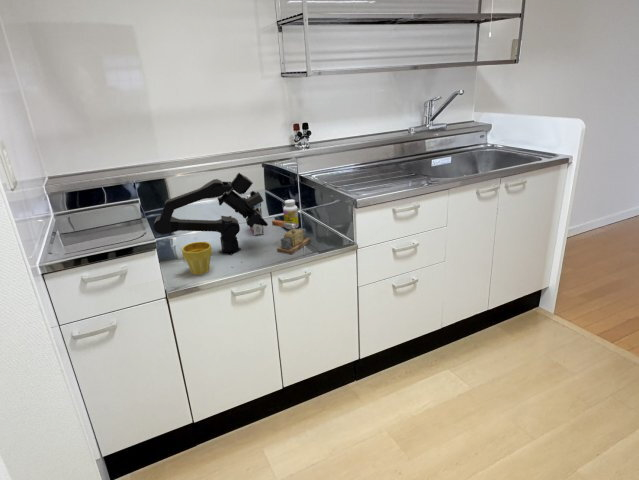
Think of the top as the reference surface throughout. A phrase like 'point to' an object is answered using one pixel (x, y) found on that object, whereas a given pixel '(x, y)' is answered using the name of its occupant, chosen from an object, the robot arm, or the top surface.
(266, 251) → the top surface
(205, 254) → the plant pot
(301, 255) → the top surface
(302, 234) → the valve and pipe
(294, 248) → the walnut mounting plank
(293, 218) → the supplement bottle
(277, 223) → the valve lever
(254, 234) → the candy bar box
